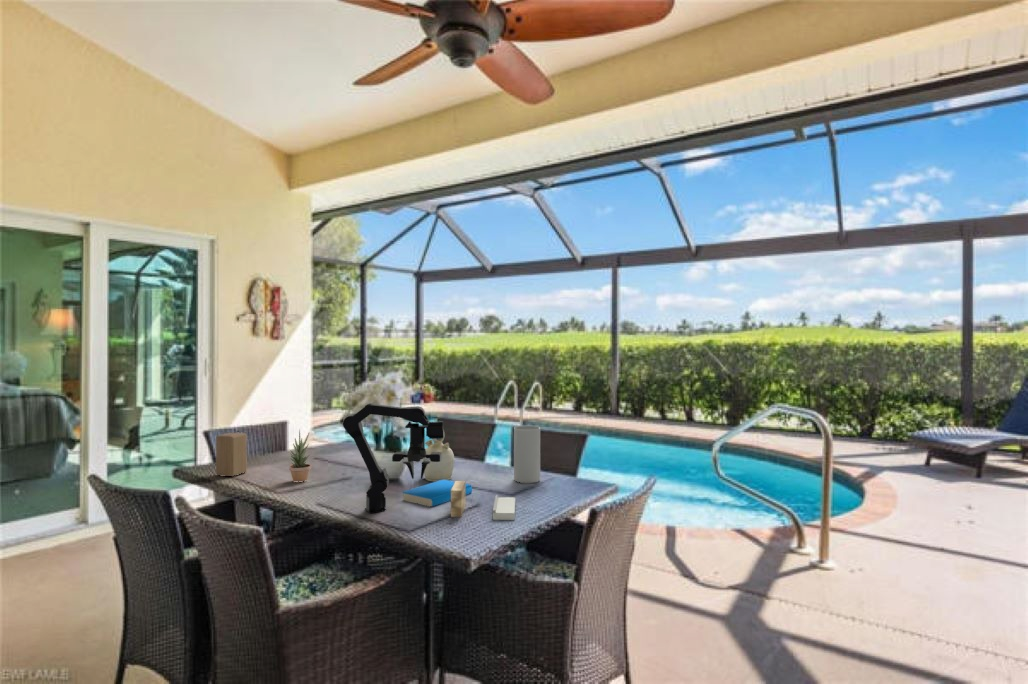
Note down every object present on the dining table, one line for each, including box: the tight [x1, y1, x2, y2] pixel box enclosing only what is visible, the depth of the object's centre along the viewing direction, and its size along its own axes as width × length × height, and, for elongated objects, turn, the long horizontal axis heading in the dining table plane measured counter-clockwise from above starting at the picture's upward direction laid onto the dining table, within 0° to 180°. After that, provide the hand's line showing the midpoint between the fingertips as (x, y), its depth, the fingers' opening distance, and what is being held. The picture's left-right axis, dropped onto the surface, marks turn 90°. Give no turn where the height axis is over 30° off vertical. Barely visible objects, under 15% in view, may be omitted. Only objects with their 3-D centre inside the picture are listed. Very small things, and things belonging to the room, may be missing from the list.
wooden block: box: [215, 431, 248, 477], centre depth 270 cm, size 10×10×20 cm
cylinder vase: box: [513, 425, 541, 484], centre depth 261 cm, size 12×12×25 cm
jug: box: [421, 432, 455, 483], centre depth 263 cm, size 15×16×25 cm
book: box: [402, 479, 473, 507], centre depth 234 cm, size 17×4×25 cm
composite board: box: [492, 494, 516, 521], centre depth 214 cm, size 8×20×4 cm, turn 179°
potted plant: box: [289, 429, 312, 482], centre depth 258 cm, size 10×10×25 cm
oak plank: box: [450, 480, 466, 518], centre depth 214 cm, size 4×14×10 cm, turn 179°
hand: (417, 478), depth 216 cm, fingers open, 3 cm apart
